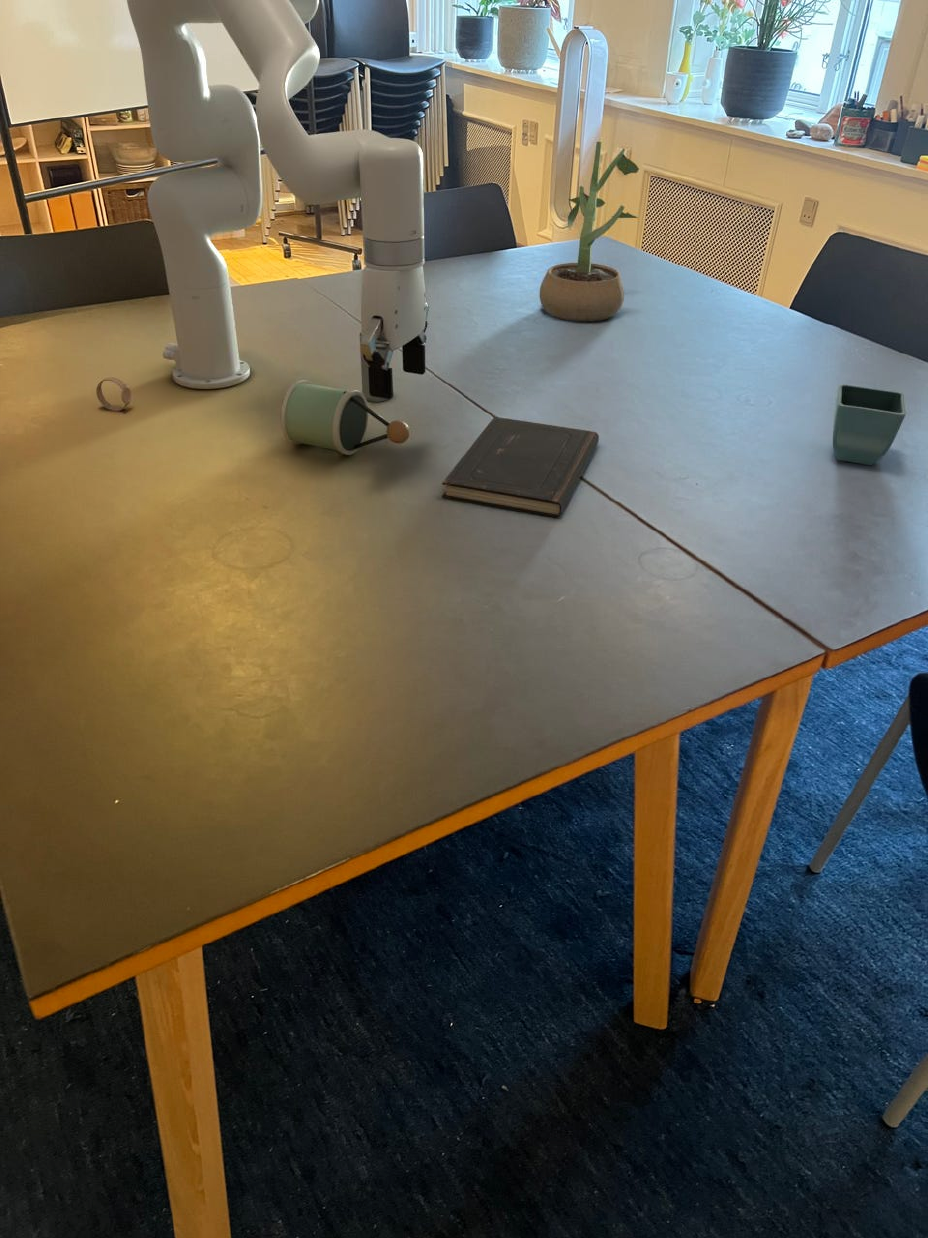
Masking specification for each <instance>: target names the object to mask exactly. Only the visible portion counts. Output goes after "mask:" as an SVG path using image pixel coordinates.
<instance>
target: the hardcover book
mask: <svg viewBox="0 0 928 1238" xmlns="http://www.w3.org/2000/svg"><path fill="white" fill-rule="evenodd" d="M599 440H600V435H599V434H598V432H596V431H592V430H585V429H578V428H573V427H572V428H571V427H565V426H559V425H553V424H545V423H540V422H533V421H526V420H518V419H514V418H513V419H512V418H507V417H500V416H494V417H493V418H492V419H491V420H490V422H489V423H488V424H487V426H486V427H485V428H484V430H483V431H482V432H481V433H480V434H479V436H478V437H477V438H476V440H475V441H473V443H472V445H471V446H470V447H469V448H468V450H467V451H466V452H465V454H464V455H462V457H461V458H460V460H459V461H458V462H457V463H456V465H455V466H454V467H453V469H452V470H451V471H450V472H449V474H448V475H447V476H446V477H445V479H444V480H443V481H442V485H443V486H445V489H444V492H443V494H442V495H441V498H443V499H447V500H448V499H449V500H454V501H459V502H465V503H470V504H476V505H482V506H488V507H494V508H499V509H505V510H511V511H515V512H520V513H521V512H522V513H528V514H534V515H539V516H545V517H549V518H550V517H551V518H558V517H560V515H561V514H562V513H563V510H564V508H565V507H566V504H567V503H568V501H569V500H570V497H571V495H572V493H573V492H574V490H575V488H576V485H577V484H578V482H579V480H580V478H581V477H582V474H583V473H584V472H585V471H584V470H585V469H586V467H587V465H588V463H589V462H590V459H591V457H592V455H593V454H594V452H595V450H596V448H597V446H598V444H599Z"/></svg>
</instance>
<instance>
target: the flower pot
mask: <svg viewBox="0 0 928 1238" xmlns="http://www.w3.org/2000/svg"><path fill="white" fill-rule="evenodd" d="M905 406H906V404H905V394H904V393H903V392H901V391H894V390H888V389H879V388H873V387H866V386H859V385H852V384H843V383H840V384H839V385H838V390H837V395H836V402H835V407H834V414H833V427H832V429H833V430H832V448H833V452H834V456H835V459H836V460H838V461H843V462H849V463H854V464H861V465H867V466H874V465H875V464H876V463H878V462H879V461H880V460H881V459H883V457H884V456H885V455H886V454H887V453H888V451H889V450H890V449H891V447H892V445H893V443H894V441H895V439H896V437H897V435H898V433H899V431H900V428H901V426H902V424H903V421H904V419H905V417H906V415H907V412H906V407H905Z"/></svg>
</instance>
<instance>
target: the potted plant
mask: <svg viewBox="0 0 928 1238" xmlns="http://www.w3.org/2000/svg"><path fill="white" fill-rule="evenodd" d="M595 143H596V145H595V151H594V152H595V153H594V160H593V167H592V174H591V178H590V184H589V193H588V194H589V195H587V194H586V193H585V187H584V186H583V185H580V186H579V189H578V191H579V192H578V196H577V197H574V198H568V201H569V202H571V203H574V204H576V205H575V206H574V207H572V209H571V210H570V212H569V214H568V217H567V227H568V231H571V229H572V226H573V225H574V222H575V220H576V218H577V216H578V214H579V211H580V212H581V214H582V216H583V222H582V228H581V230H580V235H579V246H578V247H579V248H578V256H577V262H565V263H560V264H555V265H553V266H550V267H549V268H548V269H547V271H546V274H544V278H543V280H542V281H541V283H540V286H539V287H540V288H539V300H540V304H541V306H542V308H543V309H544V311H545V312H546V313H548V314H549V315H551V317H553V318H554V317H555V318H557V319H560V320H565V321H571V322H583V323H584V322H585V323H587V322H598V321H604V320H608V319H610V318H612V317H613V316H615V315H616V314H617V313H618V312H619V311H620V309H621V308H622V306H623V303H624V301H625V290H624V285H623V282H622V278H621V273H620V272H619V271H618V270H617V269H615V268H613V267H610V266H607V265H603V264H598V263H592V246H593V244H594V242H595V241H596V240H597V239H599V238H600V237H602V236H603V235H604V234H605V233H606V232H608V231H609V230H610V229H611V228H612V227H613V226H614V224H615V223H616V222H617V221H618V219H638V216H636V215H634V214H632V213H630V212H628V211H627V212H626V213H625V212H623V211H624V210H625V206H624V205H622V204H621V205H620V206H619V208H618V209H617V211H616V212H615V213H614V214H613V215H612V216H611V218H610V219H609V220H607V221H606V222H605V223H604V224H603V225H601V226H600V227H598V228H595V229H594V223H595V221H596V219H597V208H602V207H603V206H604V205H605V204H606V202H605V200H603V199H601V198H598V192H599V191H600V190H601V189H602V188H603V187H604V185H605V184H606V182H607V180H608V178H609V177H610V175H611V174H612V172H613V171H614V169H615V168H616V167H617V169H618V170H619V171H621V173H622V174H623V175H624V176H627V175H630V174H637V173H638V172H639V169H640V168H639V167H638V165H637V163H635V162H634V161H632V160H631V159H630V158H628V157H626V155H625V152H626V149H625V148H622V149H621V151H620V152H619V153H618V154H617V155H616V156H615V158H614V159H613V160H612V161H611V163H610V164H609V165H608V167H607V168H606V169H605V171H604V173H603V174H602V175H601V177H600V179H599V176H600V165H601V153H602V141H596V142H595Z"/></svg>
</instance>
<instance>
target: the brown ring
mask: <svg viewBox="0 0 928 1238" xmlns="http://www.w3.org/2000/svg"><path fill="white" fill-rule="evenodd" d="M104 382H113V383H114V384H116V385H117V386H118V387H119V388H120V390H121V395H120V397H121V401H122V402H123V404H124V405H123V406H114V405H113V404H111V403H109V402H108V401H107V400H106V398H105V395H104V394H103V389H102V385H103V383H104ZM95 392H96V397H97V399H98V401H99V403H100V404H101V405H102V406H103V407H104V408H106V409H107V410H109V411H112V412H120V411H123V410H124V409H125V408H126V407H127V406H128V405H129V404H130V403H131V399H132V391H131V389H130V387H128V385H127V384H126V383H125V382H124V381H122V380H120V378H117V377H114V376H113V377H112V376H109V377H106V378H104V379H102V380H101V381H100V382H98V384H97V386H96V391H95Z"/></svg>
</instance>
